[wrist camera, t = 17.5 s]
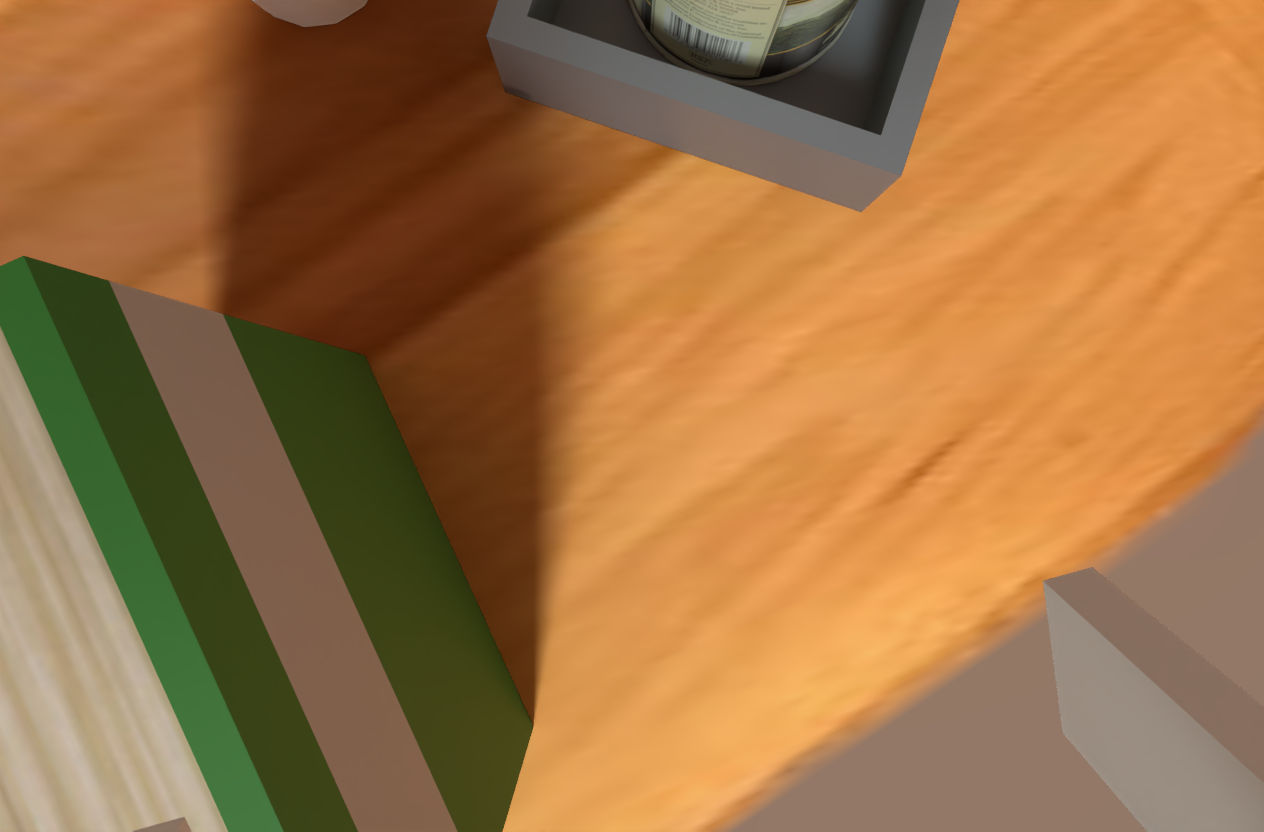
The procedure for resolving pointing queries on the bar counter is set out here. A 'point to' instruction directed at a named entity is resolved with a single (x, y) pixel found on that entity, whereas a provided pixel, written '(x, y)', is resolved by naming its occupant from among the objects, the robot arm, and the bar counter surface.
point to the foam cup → (311, 10)
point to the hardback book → (226, 584)
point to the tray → (738, 91)
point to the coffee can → (743, 35)
